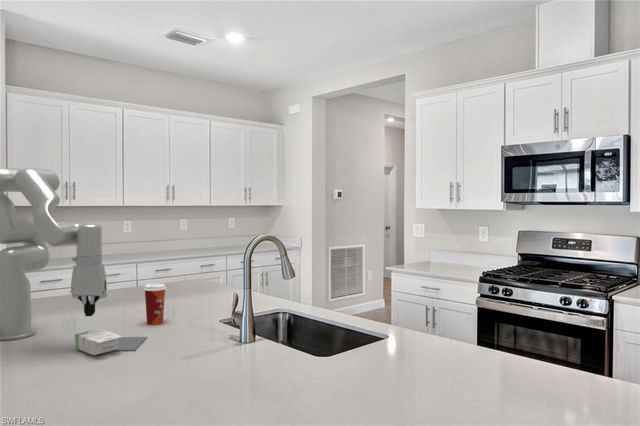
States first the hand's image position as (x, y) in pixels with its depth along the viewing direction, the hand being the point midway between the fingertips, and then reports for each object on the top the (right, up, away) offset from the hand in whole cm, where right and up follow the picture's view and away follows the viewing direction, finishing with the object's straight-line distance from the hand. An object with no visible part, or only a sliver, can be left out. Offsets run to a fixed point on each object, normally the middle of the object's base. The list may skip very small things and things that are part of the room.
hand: (89, 315), depth 154 cm
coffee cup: (+12, -10, +29) cm, 32 cm away
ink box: (0, -7, -1) cm, 7 cm away
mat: (+9, -10, +1) cm, 14 cm away
